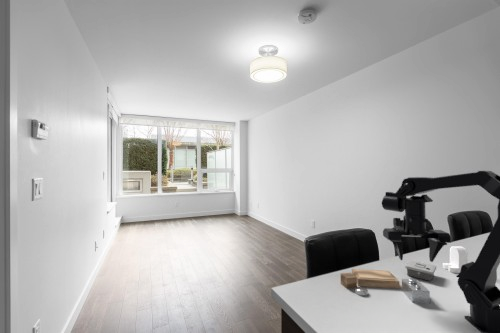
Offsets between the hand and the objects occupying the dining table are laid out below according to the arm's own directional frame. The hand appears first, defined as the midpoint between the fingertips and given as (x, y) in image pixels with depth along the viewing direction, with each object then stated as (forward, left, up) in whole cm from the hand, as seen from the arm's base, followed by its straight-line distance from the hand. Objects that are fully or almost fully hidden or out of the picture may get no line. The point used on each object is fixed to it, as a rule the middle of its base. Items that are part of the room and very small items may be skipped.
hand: (415, 260), depth 83 cm
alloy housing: (-1, +1, -12) cm, 12 cm away
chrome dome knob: (-1, +18, -12) cm, 22 cm away
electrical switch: (+15, -13, -12) cm, 24 cm away
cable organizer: (+25, -28, -12) cm, 40 cm away
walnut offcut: (+4, +21, -12) cm, 24 cm away
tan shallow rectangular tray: (+9, +10, -12) cm, 18 cm away
